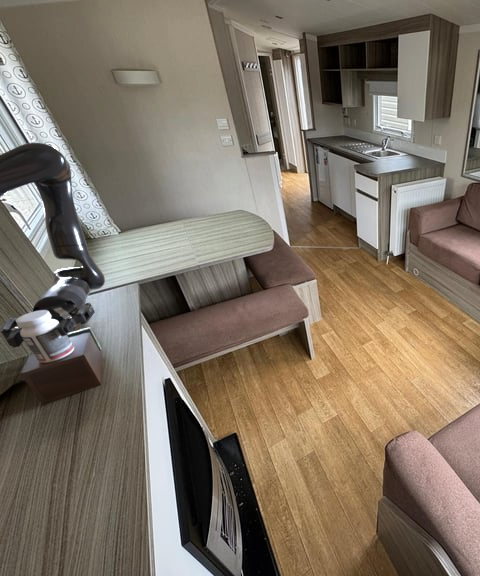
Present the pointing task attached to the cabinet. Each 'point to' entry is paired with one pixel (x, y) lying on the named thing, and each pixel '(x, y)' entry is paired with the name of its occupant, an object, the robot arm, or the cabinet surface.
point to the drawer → (83, 331)
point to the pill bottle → (44, 336)
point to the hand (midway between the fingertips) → (38, 337)
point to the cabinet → (66, 371)
